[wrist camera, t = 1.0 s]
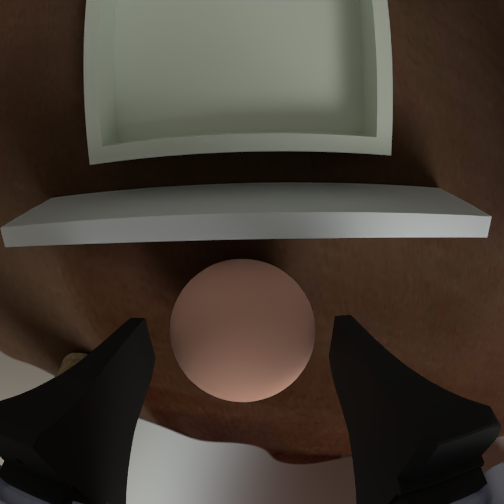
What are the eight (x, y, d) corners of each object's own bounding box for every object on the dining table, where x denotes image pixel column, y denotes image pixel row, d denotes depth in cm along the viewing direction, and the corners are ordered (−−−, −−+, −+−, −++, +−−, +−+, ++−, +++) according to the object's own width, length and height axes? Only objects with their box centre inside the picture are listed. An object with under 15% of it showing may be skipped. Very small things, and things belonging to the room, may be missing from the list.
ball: (307, 235, 13) (337, 311, 8) (301, 337, 16) (316, 426, 11) (177, 238, 14) (136, 313, 8) (192, 339, 16) (172, 426, 11)
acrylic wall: (439, 187, 12) (491, 216, 9) (436, 204, 13) (487, 237, 9) (52, 197, 13) (0, 227, 9) (55, 213, 13) (5, 247, 9)
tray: (357, -69, 7) (370, -88, 6) (371, 148, 12) (391, 155, 10) (114, -57, 8) (97, -74, 6) (111, 156, 12) (89, 164, 10)
